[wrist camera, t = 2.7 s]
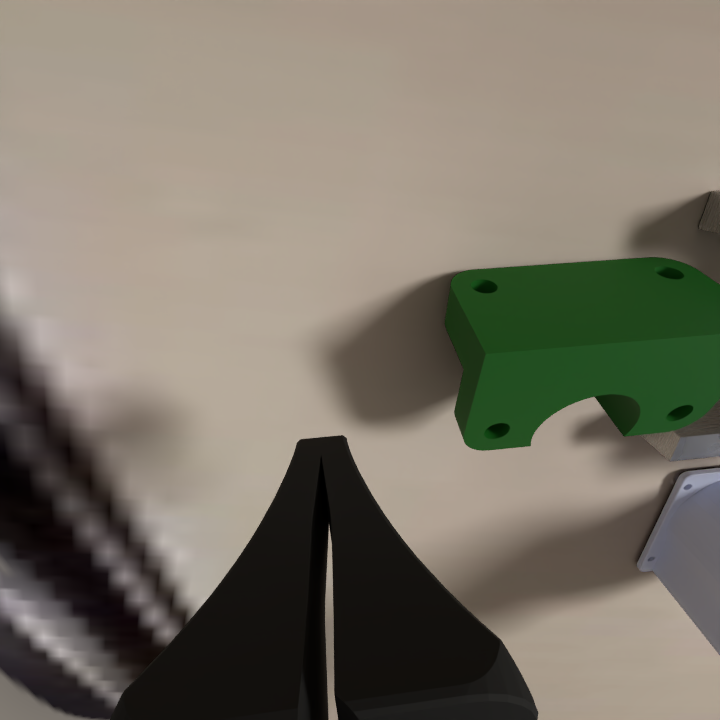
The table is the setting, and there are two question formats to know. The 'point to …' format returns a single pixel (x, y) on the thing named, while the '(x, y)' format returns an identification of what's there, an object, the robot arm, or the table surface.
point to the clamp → (583, 346)
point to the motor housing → (716, 427)
